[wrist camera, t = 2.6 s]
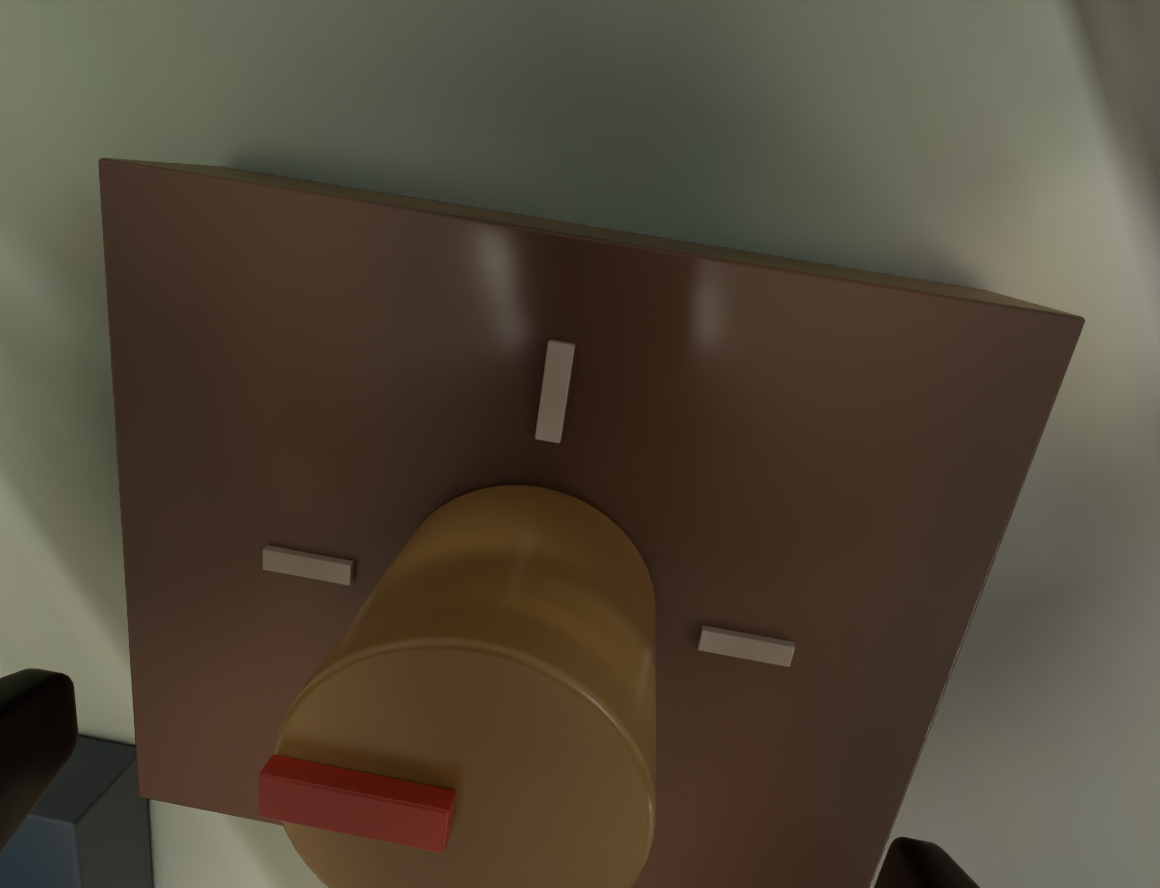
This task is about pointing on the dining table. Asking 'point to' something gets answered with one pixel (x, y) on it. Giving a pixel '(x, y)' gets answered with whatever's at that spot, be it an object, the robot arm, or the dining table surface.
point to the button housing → (85, 826)
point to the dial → (482, 710)
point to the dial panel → (563, 479)
